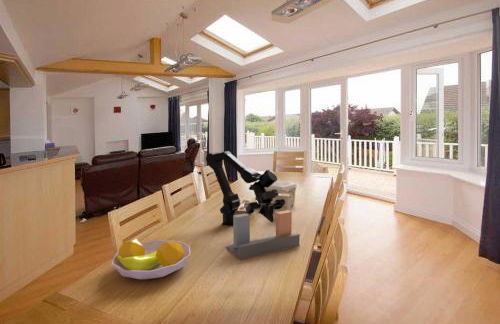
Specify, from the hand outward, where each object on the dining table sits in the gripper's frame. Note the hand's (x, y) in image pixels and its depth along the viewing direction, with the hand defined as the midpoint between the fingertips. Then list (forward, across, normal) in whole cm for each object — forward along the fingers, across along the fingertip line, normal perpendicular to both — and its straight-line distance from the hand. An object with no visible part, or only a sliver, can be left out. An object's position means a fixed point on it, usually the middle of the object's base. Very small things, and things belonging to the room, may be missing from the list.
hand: (272, 222), depth 133 cm
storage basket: (-30, +33, +42) cm, 61 cm away
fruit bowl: (+10, -54, +2) cm, 55 cm away
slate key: (+7, -17, +2) cm, 19 cm away
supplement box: (-12, +22, +23) cm, 34 cm away
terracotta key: (+10, 0, -2) cm, 10 cm away
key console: (+10, -8, +1) cm, 13 cm away
